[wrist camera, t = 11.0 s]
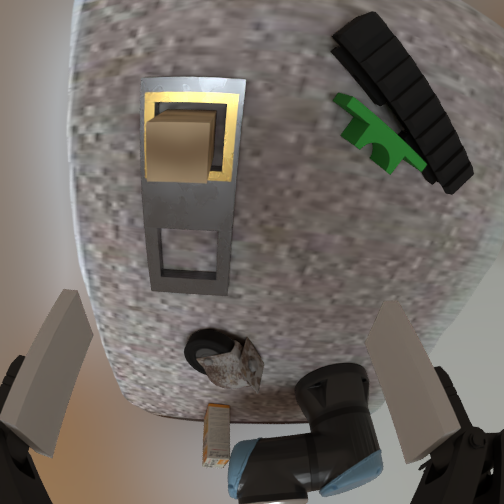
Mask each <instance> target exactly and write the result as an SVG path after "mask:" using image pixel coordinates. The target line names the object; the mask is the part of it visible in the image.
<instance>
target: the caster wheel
mask: <svg viewBox="0 0 504 504" xmlns="http://www.w3.org/2000/svg"><path fill="white" fill-rule="evenodd" d="M184 355H185V358H186V360H187V362H188V363H189V364H190V365H191V366H192V367H193V368H194V369H196V370H197V371H199V372H201V373H203V374H205V375H207V376H208V378H209V379H210V380H211V382H212V383H214V384H215V385H217V386H219V387H222V388H227V389H234V388H242V387H249V386H252V387H253V389H254V390H255V392H256V393H257V394H258V391H259V386H260V382H261V377H262V373H263V368H264V363H263V361H262V359H261V358H260V356H259V355H258V353H257V351H256V350H255V348H254V346H253V345H252V343H251V342H250V340H249V338H248V337H247V338H246V342H245V345H244V348H243V347H242V346H241V344H240V343H239V342H237V341H236V340H231V339H230V338H229V337H228V336H226V335H224V334H222V333H220V332H217V331H214V330H200V331H197V332H195V333H194V334H192V336H191V337H190V339H189V341H188V343H187V345H186V347H185V349H184Z"/></svg>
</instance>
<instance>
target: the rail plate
mask: <svg viewBox="0 0 504 504" xmlns="http://www.w3.org/2000/svg"><path fill="white" fill-rule="evenodd" d="M245 85H246V79H234V78H217V77H146V78H141V100H140V157H141V184H142V202H143V216H144V228H145V239H146V249H147V259H148V267H149V276H150V283H151V291H158V292H171V293H186V294H201V295H219V296H227V294H228V279H229V265H230V252H231V239H232V226H233V214H234V201H235V190H236V178H237V167H238V156H239V145H240V134H241V124H242V114H243V104H244V94H245ZM159 102H205V103H226V104H227V115H226V127H225V139H224V152H223V166H211V168H210V172H209V176H208V180H207V184H206V183H185V182H153V181H147V166H146V122H147V121H149V120H150V119H152V118H154V117H155V116H157V115H159ZM160 228H170V229H189V230H207V231H219V232H218V252H217V272H200V271H184V270H168V269H163V260H162V247H161V232H160Z"/></svg>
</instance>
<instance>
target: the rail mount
mask: <svg viewBox="0 0 504 504" xmlns="http://www.w3.org/2000/svg"><path fill="white" fill-rule="evenodd" d="M332 37H333V39H334V40H335V41H336V42H337V43H338V44H339V45H340V46H339V47H335V48H334V49H333V50H332V51H331V53H332V54H333V55H334V56H335V57H336V58H337V59H338V60H339V61H340V62H341V64H342V65H343V66H344V67H345V68H346V69H347V70H348V71H349V73H350V74H351V75H352V76H353V77H354V78H355V80H356V81H357V82H358V83H359V84H360V86H361V87H362V88H363V89H364V91H365V92H366V93H367V94H368V96H369V97H370V98H371V99H372V101H373V102H374V103H375V104H376V105H379V106H382V105H383V104H384V103H385V102H387V103H388V105H389V106H390V108H391V109H392V110H393V112H394V113H395V115H396V116H397V118H398V119H399V120H400V122H401V123H402V125H403V126H404V128H405V129H406V131H407V132H406V133H404V132H403V131H401V132H400V133H399V134H398V136H399V137H400V138H401V139H402V140H403V141H404V142H405V143H407V144H408V145H409V146H410V147H411V148H412V149H413V150H414V151H415V152H416V153H417V154H418V155H419V156H420V157H421V158H422V160H423V161H424V162H425V163H426V164H427V165H426V167H425V168H424V169H423V171H422V174H423V176H424V178H425V179H426V180H427V181H428V182H429V183H431V184H432V185H433V184H434V183H435V182H436V181H437V182H439V183H440V184H441V186H442V188H443V190H444V191H445V193H446V194H451V195H453V194H454V193H455V192H456V191H457V190H458V189H459V188H460V187H461V186H462V185H463V184H464V183H465V182H466V181H467V180H468V179H469V178H471V177H472V176H473V175H474V172H473V167H472V165H471V162H470V161H469V159H468V157H467V153H466V151H465V149H464V147H463V146H462V144H461V142H460V140H459V136H458V134H457V132H456V130H455V129H454V127H453V126H452V124H451V122H450V119H449V117H448V115H447V113H446V112H445V111H444V109H443V107H442V106H441V104H440V101H439V99H438V98H437V96H436V94H435V93H434V92H433V90H432V89H431V87H430V85H429V83H428V81H427V80H426V78H425V77H424V75H422V73H421V72H420V70H419V69H418V67H417V66H416V63H415V62H414V60H413V59H412V57H411V56H410V55H409V54H408V53H407V51H406V50H405V48H404V47H403V46H402V44H401V42H400V41H399V40H398V38H397V37H396V36H394V34H393V33H392V32H391V31H390V29H389V28H388V27H387V25H386V23H385V22H384V21H383V20H382V19H381V18H380V16H379V15H378V14H377V13H376V12H373V11H372V12H369V13H366V14H364V15H361V16H358V17H356V18H355V19H353V20H352V21H351V22H349V23H348V24H347V25H345V26H344V27H343V28H342V29H340V30H339V31H338V32H336V33H335V34H334V35H333V36H332Z"/></svg>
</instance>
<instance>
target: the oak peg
mask: <svg viewBox="0 0 504 504" xmlns="http://www.w3.org/2000/svg"><path fill="white" fill-rule="evenodd" d="M216 112H217V111H216V110H187V109H167V110H166V111H164V112H162V113H161V114H159V115H157V116H155V117H154V118H152V119H150V120H149V121H147V122H146V166H147V181H153V182H185V183H206V184H207V180H208V176H209V172H210V168H211V164H212V160H213V156H214V140H215V126H216Z"/></svg>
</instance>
